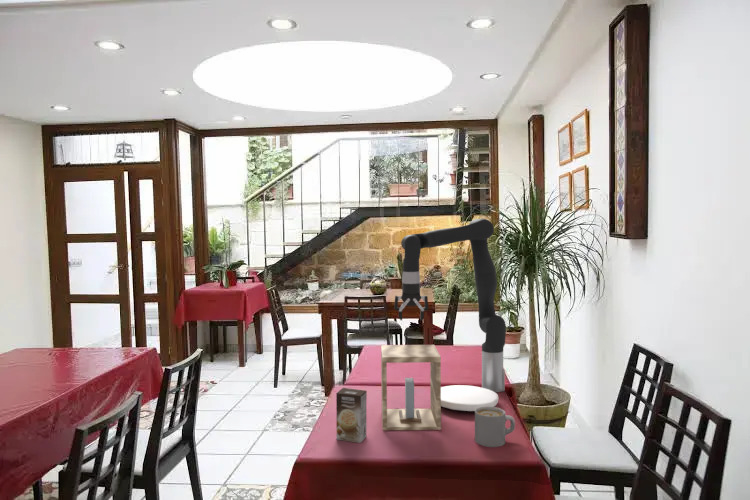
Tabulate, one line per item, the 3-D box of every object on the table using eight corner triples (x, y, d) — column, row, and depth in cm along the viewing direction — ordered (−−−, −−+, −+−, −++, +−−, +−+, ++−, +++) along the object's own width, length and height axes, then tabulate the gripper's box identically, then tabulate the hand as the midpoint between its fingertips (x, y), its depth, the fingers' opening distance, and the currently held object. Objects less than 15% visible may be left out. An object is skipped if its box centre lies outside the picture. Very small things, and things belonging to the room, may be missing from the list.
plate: (429, 382, 227) (491, 383, 227) (429, 398, 227) (491, 398, 226) (435, 396, 199) (505, 396, 199) (435, 414, 199) (506, 414, 198)
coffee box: (335, 439, 178) (334, 392, 177) (342, 432, 184) (342, 387, 184) (360, 443, 175) (360, 395, 174) (367, 436, 181) (367, 389, 181)
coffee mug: (476, 446, 172) (476, 416, 171) (473, 434, 182) (473, 406, 181) (518, 447, 170) (518, 417, 170) (513, 435, 180) (513, 407, 180)
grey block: (413, 414, 199) (413, 377, 198) (414, 420, 193) (414, 382, 192) (405, 414, 199) (405, 377, 198) (406, 420, 193) (405, 382, 192)
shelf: (434, 411, 205) (434, 344, 204) (440, 429, 186) (440, 356, 185) (381, 411, 205) (381, 345, 204) (382, 430, 186) (382, 357, 185)
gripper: (394, 283, 220) (394, 321, 221) (428, 282, 220) (429, 321, 221) (393, 281, 228) (394, 318, 228) (426, 281, 228) (427, 318, 228)
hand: (411, 320), depth 225 cm, fingers open, 8 cm apart
